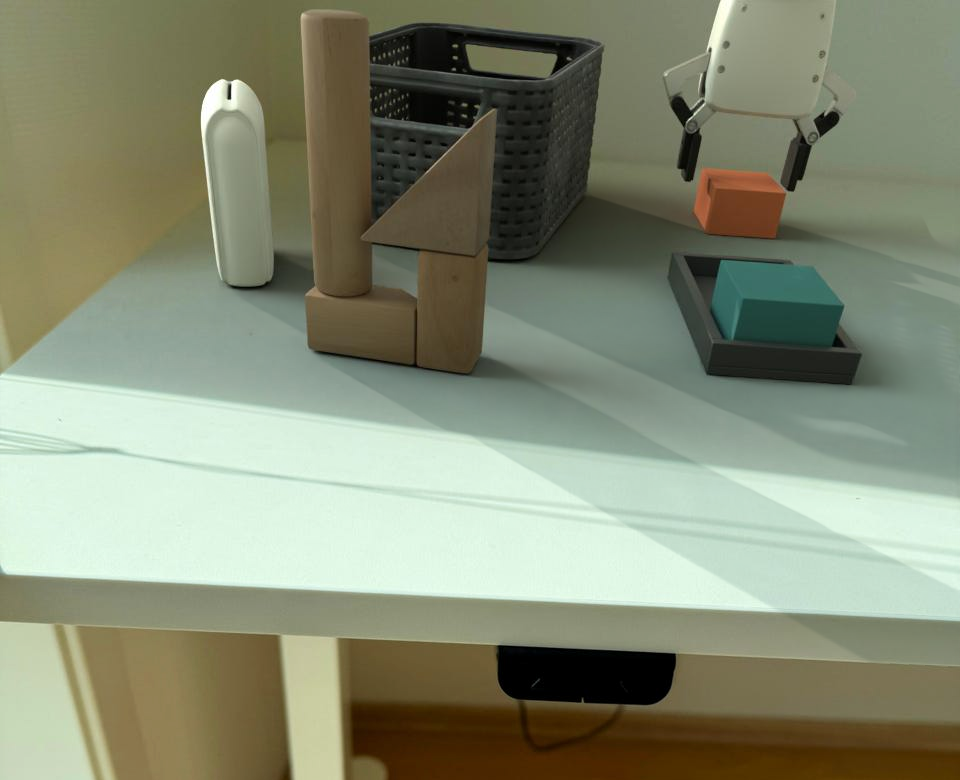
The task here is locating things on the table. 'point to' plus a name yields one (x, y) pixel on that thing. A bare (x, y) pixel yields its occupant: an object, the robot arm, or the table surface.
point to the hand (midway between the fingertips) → (736, 183)
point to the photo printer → (238, 183)
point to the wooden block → (389, 219)
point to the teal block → (774, 304)
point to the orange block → (739, 203)
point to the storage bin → (519, 125)
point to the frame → (747, 358)
